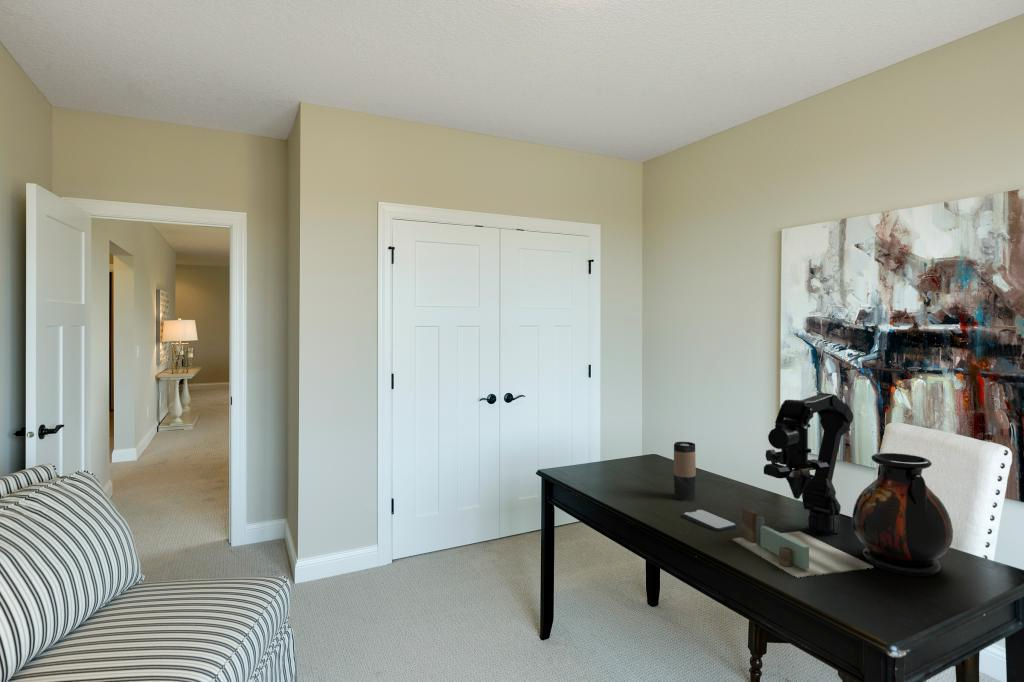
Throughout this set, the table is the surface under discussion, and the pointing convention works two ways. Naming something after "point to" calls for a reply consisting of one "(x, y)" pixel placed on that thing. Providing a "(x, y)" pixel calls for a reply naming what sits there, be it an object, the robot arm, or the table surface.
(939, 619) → the table surface
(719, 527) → the phone case
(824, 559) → the gate base
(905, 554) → the amphora vase
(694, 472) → the travel mug
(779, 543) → the gate
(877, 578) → the table surface
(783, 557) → the stop post
